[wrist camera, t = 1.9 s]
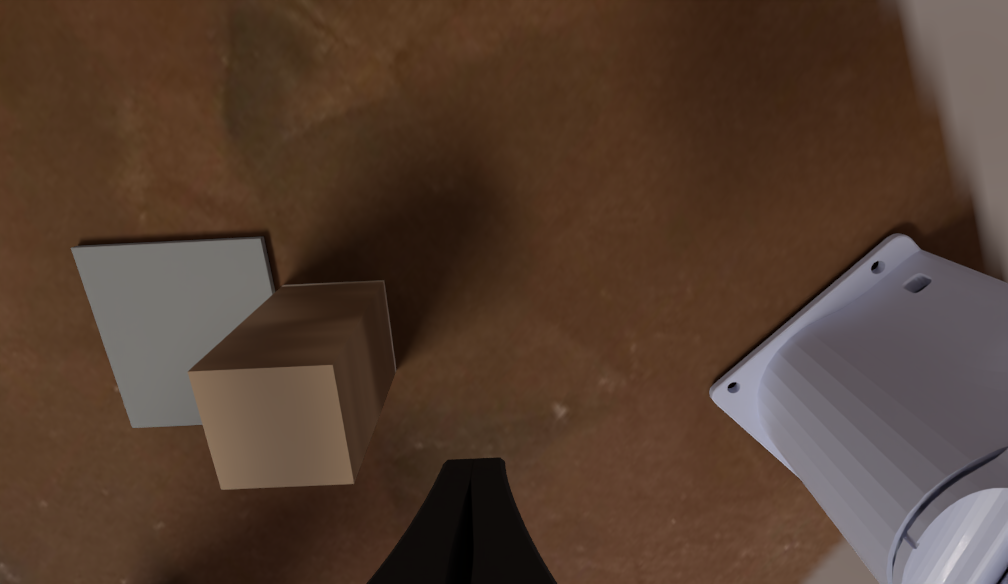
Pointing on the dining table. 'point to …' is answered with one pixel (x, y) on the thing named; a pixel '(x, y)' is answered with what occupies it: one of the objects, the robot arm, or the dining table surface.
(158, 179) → the dining table surface
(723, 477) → the dining table surface
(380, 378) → the walnut block
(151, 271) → the slate mat
